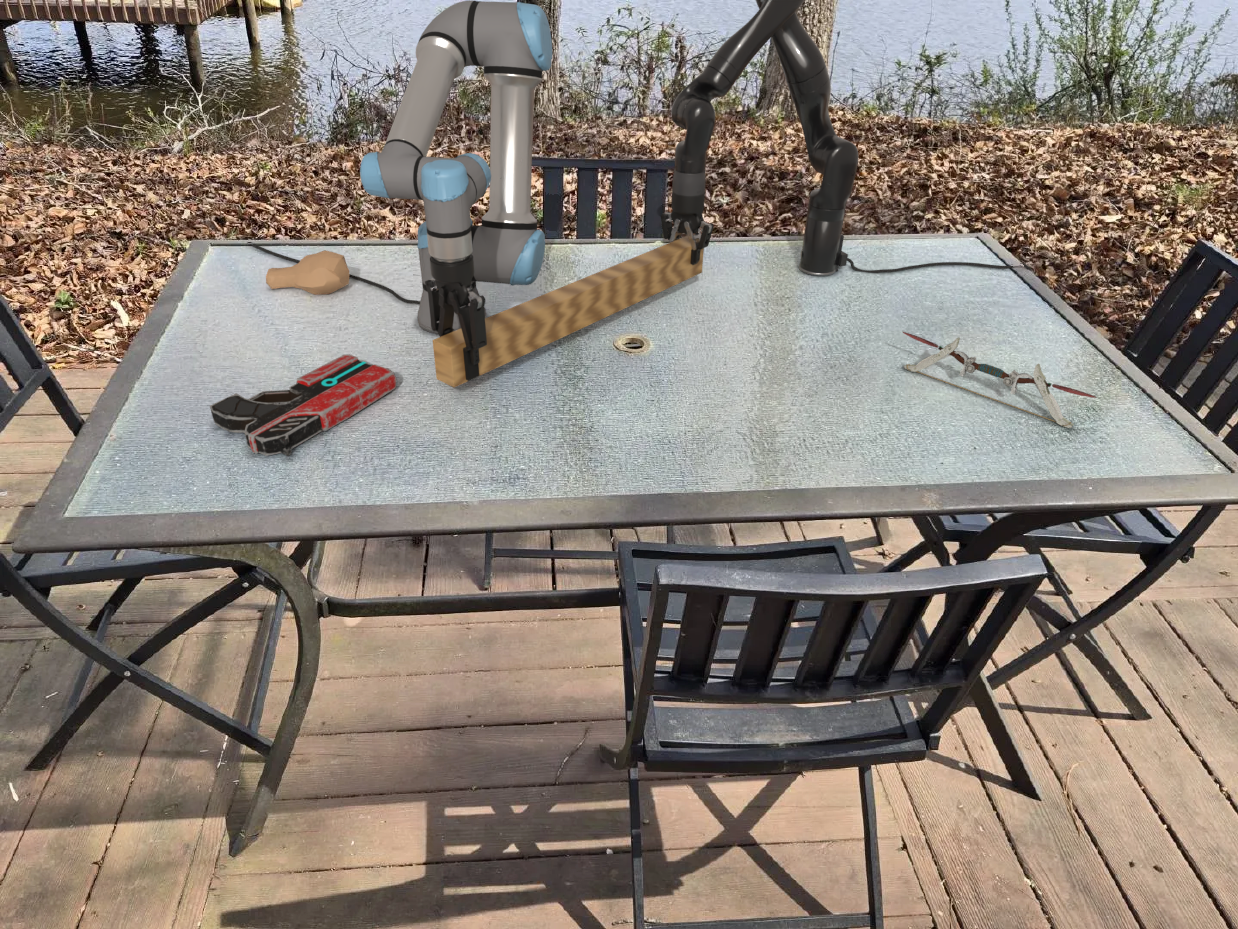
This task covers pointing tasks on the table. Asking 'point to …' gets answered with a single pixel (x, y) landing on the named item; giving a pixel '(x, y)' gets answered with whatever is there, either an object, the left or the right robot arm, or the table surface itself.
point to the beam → (567, 310)
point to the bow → (1009, 379)
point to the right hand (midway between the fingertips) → (684, 260)
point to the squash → (312, 274)
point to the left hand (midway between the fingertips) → (462, 372)
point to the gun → (304, 405)
